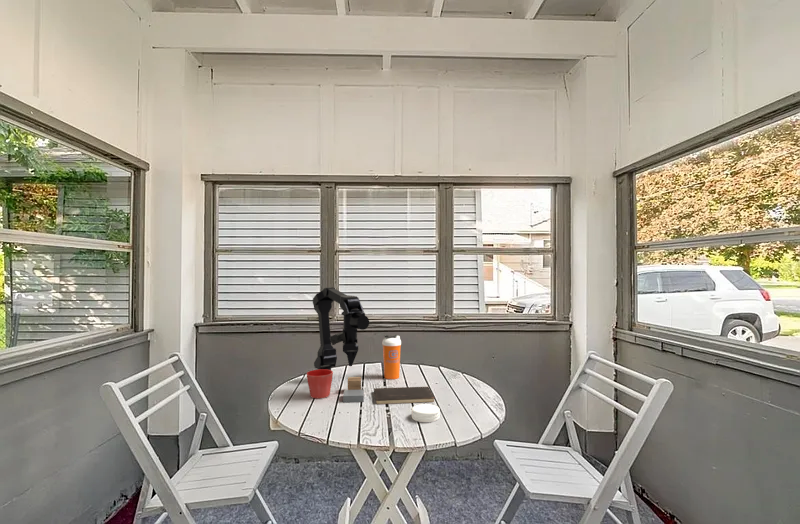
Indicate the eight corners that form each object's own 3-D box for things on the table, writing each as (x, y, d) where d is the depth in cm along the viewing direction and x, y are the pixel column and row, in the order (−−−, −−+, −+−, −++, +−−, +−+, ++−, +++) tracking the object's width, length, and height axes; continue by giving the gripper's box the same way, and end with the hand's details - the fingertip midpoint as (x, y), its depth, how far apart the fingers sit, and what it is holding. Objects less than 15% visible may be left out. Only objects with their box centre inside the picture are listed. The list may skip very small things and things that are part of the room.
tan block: (348, 390, 192) (348, 377, 192) (361, 389, 193) (361, 376, 193) (347, 393, 187) (347, 380, 187) (360, 393, 187) (360, 380, 187)
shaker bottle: (379, 376, 214) (379, 334, 214) (396, 374, 218) (396, 332, 218) (386, 380, 206) (386, 337, 206) (404, 378, 210) (404, 335, 210)
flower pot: (300, 397, 182) (300, 373, 182) (317, 390, 191) (317, 367, 191) (321, 401, 177) (321, 376, 177) (338, 394, 186) (338, 370, 186)
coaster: (422, 411, 166) (422, 401, 166) (445, 417, 160) (445, 407, 160) (405, 418, 158) (405, 408, 158) (428, 425, 152) (428, 415, 152)
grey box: (344, 396, 184) (344, 390, 184) (363, 395, 184) (363, 389, 184) (343, 402, 176) (343, 396, 176) (363, 401, 176) (363, 395, 176)
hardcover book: (434, 403, 176) (434, 397, 176) (376, 405, 173) (376, 399, 173) (427, 391, 192) (427, 386, 191) (374, 393, 189) (374, 387, 189)
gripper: (331, 323, 197) (331, 359, 197) (330, 330, 178) (330, 369, 178) (357, 323, 198) (357, 358, 198) (358, 330, 179) (358, 369, 180)
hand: (350, 363), depth 188 cm, fingers open, 9 cm apart
